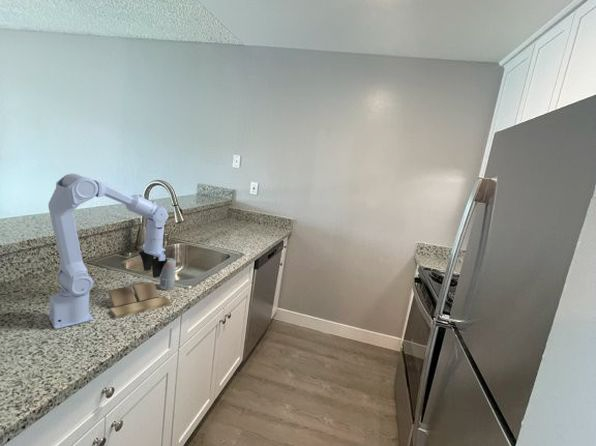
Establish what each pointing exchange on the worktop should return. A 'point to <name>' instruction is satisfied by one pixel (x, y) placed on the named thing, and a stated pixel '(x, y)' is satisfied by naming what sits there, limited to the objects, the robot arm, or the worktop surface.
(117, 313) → the laid board
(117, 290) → the brown flat square block
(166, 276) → the energy drink
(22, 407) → the worktop surface
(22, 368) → the worktop surface
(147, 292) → the plank
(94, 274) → the worktop surface
